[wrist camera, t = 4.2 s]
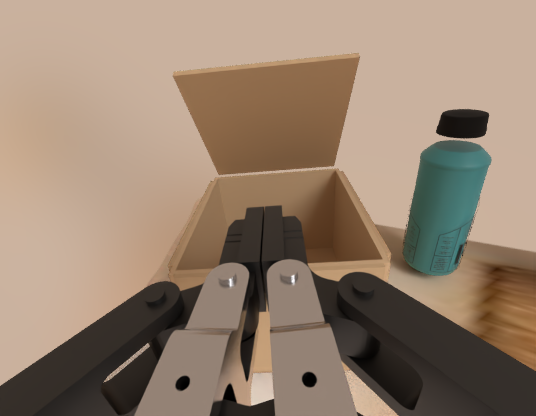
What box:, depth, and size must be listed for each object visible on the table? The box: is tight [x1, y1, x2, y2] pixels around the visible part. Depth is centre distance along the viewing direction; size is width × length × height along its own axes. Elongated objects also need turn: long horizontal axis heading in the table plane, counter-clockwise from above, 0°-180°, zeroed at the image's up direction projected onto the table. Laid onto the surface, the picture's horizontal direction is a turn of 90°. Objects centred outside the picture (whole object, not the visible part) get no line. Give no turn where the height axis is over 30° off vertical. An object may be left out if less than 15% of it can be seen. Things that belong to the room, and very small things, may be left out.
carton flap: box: [173, 53, 360, 175], centre depth 28 cm, size 15×15×1 cm
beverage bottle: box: [402, 109, 491, 276], centre depth 31 cm, size 6×7×20 cm
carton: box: [168, 169, 391, 373], centre depth 30 cm, size 17×18×13 cm
